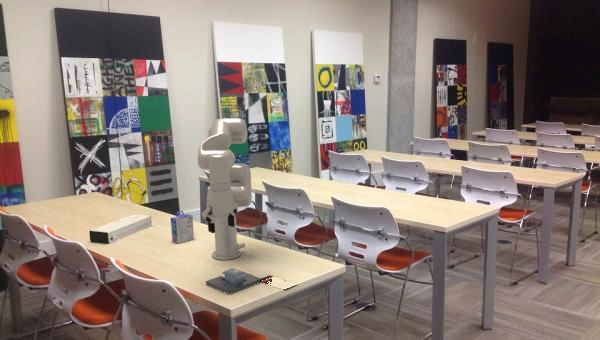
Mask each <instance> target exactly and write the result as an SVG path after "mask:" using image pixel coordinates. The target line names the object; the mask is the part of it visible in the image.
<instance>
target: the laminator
mask: <svg viewBox="0 0 600 340" xmlns="http://www.w3.org/2000/svg"><path fill="white" fill-rule="evenodd" d="M150 227H152V215H148V214H147V215H146V214H138V213H133V214H130V215H127V216H126V217H122V218H119V219H117V220H114V221H112V222H109V223H107V224H104V225H102V226H99V227H96V228H93V229H91V230H89V241H90V242H91V243H99V244H100V243H101V244H107V243H108V244H109V245H110V243H111V244H112V243H116V242H117V240H118V241H119V239H120V240H122V239H124V237H125V238H126V236H127V237H129V236H131V234H132V235H134V234H136V233H138V231H139V232H140V231H143V230H147V228H150ZM133 233H134V234H133Z"/></svg>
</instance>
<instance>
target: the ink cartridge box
mask: <svg viewBox="0 0 600 340" xmlns="http://www.w3.org/2000/svg"><path fill="white" fill-rule="evenodd" d="M176 215H177V216H173V217H170V228H171V238H172V239H171V240H172V243H175V244H180V243H185V242H188V241H192V240H195V233H194V215H193V214H188V213H184V211H183V210H180V211H176Z"/></svg>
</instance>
